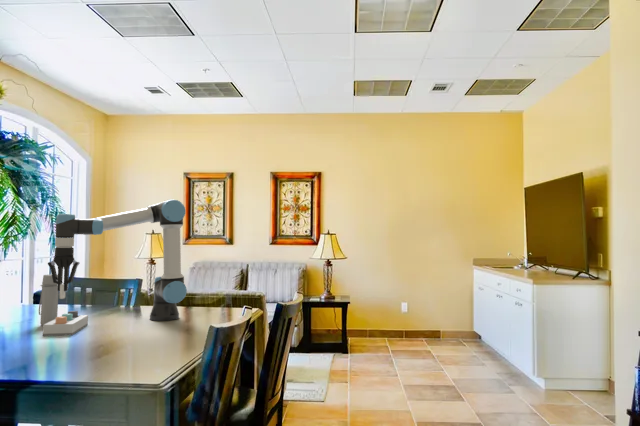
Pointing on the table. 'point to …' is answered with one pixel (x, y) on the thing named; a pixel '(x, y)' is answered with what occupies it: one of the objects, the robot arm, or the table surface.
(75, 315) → the button charcoal
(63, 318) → the button terracotta
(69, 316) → the button teal
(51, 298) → the water bottle
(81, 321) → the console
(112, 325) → the table surface
